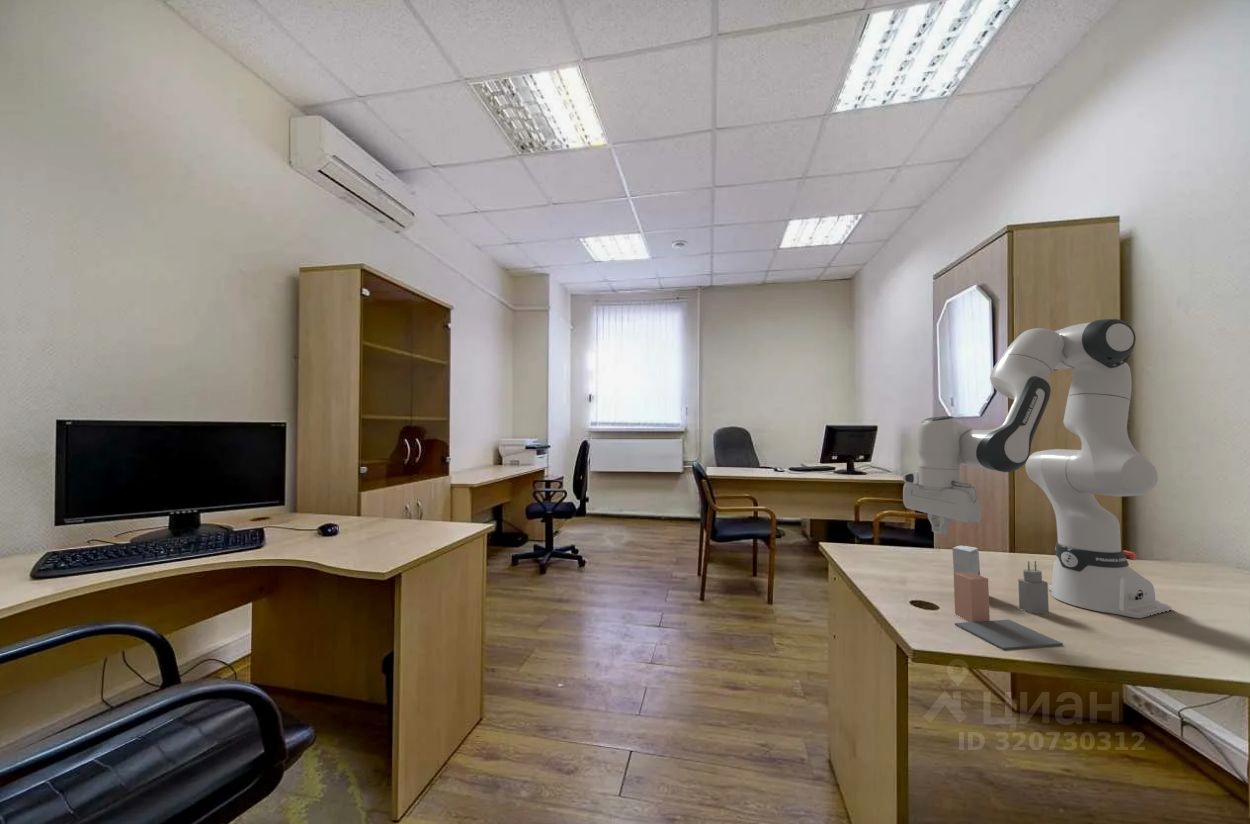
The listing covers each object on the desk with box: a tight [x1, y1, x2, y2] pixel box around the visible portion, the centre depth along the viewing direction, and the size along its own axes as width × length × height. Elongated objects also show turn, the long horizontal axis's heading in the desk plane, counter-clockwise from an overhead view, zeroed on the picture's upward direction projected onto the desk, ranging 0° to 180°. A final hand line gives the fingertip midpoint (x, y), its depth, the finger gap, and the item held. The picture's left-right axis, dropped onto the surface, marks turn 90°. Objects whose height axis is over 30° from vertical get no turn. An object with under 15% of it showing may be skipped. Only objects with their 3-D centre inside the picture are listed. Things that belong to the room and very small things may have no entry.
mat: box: [954, 619, 1064, 651], centre depth 93 cm, size 14×11×1 cm
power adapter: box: [1017, 560, 1050, 614], centre depth 105 cm, size 3×5×12 cm, turn 96°
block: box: [953, 572, 991, 622], centre depth 101 cm, size 4×4×10 cm
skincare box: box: [951, 545, 981, 576], centre depth 116 cm, size 6×4×12 cm
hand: (939, 533), depth 109 cm, fingers closed
